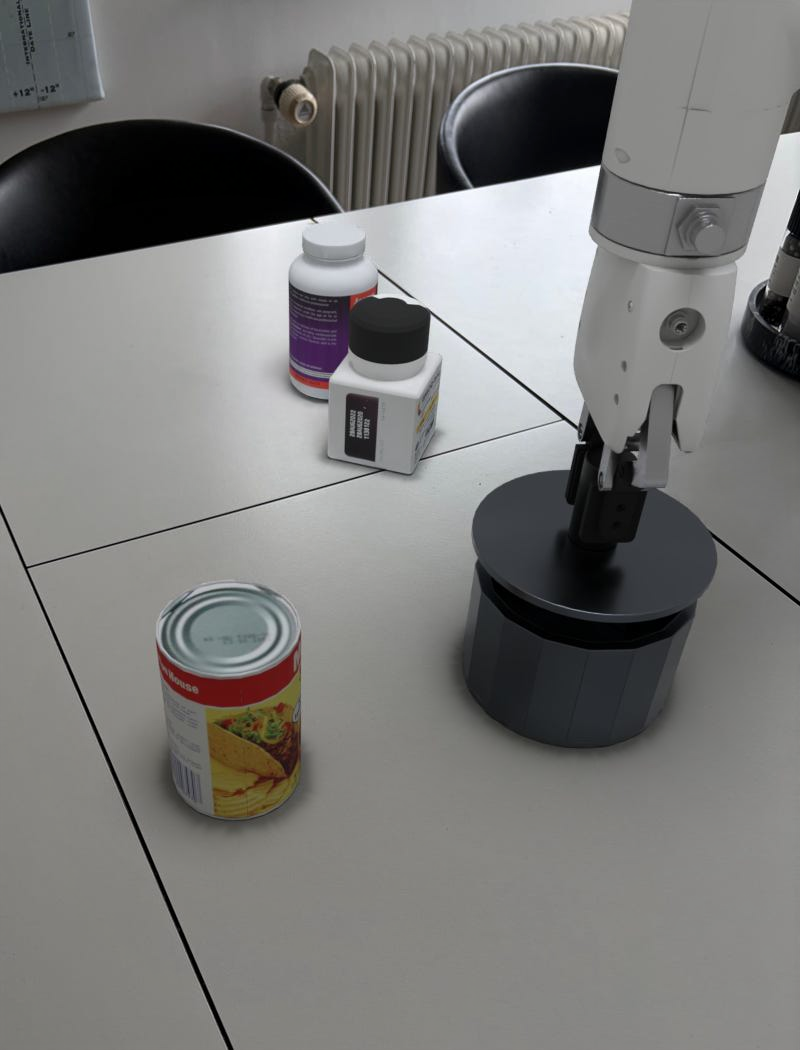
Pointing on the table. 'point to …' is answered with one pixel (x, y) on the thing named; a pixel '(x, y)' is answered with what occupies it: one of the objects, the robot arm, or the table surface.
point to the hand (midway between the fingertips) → (598, 518)
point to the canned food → (232, 696)
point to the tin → (567, 667)
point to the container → (385, 386)
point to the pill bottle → (325, 301)
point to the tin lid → (591, 550)
